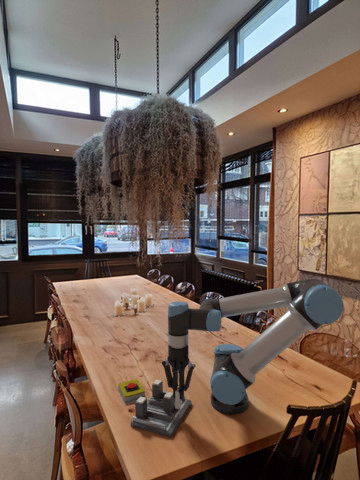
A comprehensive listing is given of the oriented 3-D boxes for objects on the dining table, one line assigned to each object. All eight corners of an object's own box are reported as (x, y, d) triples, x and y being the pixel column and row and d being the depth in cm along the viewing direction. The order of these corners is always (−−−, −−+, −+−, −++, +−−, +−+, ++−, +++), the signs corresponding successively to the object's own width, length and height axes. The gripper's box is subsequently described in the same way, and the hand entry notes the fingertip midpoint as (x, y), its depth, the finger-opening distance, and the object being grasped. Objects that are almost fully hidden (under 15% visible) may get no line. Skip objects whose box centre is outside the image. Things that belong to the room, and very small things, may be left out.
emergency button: (125, 395, 116) (116, 378, 129) (125, 406, 116) (116, 388, 129) (146, 389, 120) (136, 373, 133) (147, 400, 120) (136, 383, 133)
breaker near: (147, 415, 107) (147, 397, 106) (142, 421, 103) (142, 403, 103) (140, 413, 108) (140, 395, 108) (135, 419, 104) (135, 401, 104)
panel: (191, 404, 116) (191, 396, 116) (171, 437, 97) (171, 428, 97) (156, 395, 122) (156, 388, 122) (130, 425, 103) (130, 417, 103)
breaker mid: (174, 409, 110) (174, 392, 109) (170, 415, 106) (170, 398, 106) (167, 407, 111) (167, 391, 110) (163, 413, 107) (163, 396, 107)
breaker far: (162, 396, 119) (162, 380, 118) (158, 400, 115) (158, 384, 115) (156, 394, 120) (156, 379, 120) (152, 399, 116) (152, 383, 116)
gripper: (198, 343, 107) (198, 404, 108) (166, 338, 112) (167, 397, 113) (191, 351, 100) (191, 417, 101) (157, 345, 105) (158, 408, 106)
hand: (178, 406), depth 107 cm, fingers closed
